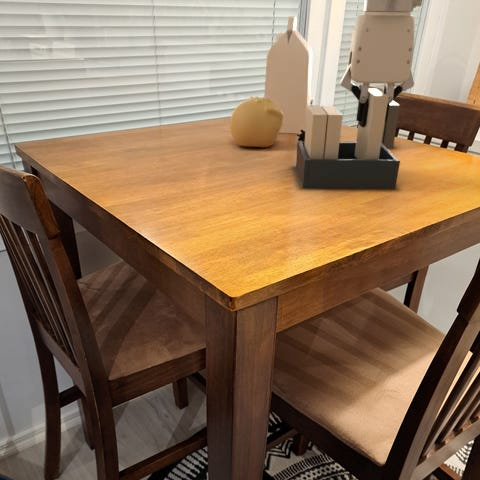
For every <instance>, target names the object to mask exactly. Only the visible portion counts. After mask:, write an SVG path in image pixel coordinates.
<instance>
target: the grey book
mask: <svg viewBox="0 0 480 480" xmlns="http://www.w3.org/2000/svg"><path fill="white" fill-rule="evenodd" d="M400 108H401V104H399V103H398V102H396V101H394V100H393V101H392V102H391V103H390V105H389V111H388V117H387V121H386V124H385V130H384V136H383V144H384V145H385V146H386V147H387V148H388V149H394V143H395V139H396V132H397V127H398V121H399V114H400V110H401V109H400Z"/></svg>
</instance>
